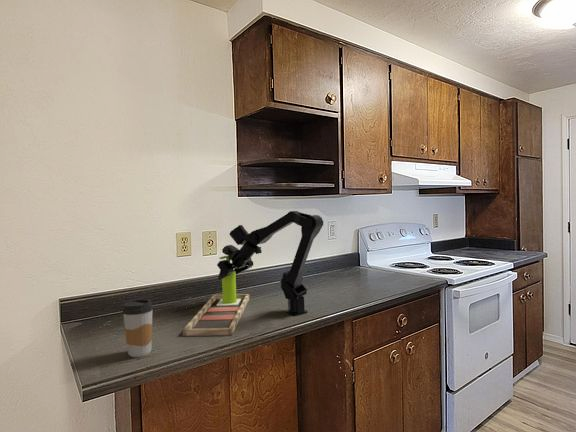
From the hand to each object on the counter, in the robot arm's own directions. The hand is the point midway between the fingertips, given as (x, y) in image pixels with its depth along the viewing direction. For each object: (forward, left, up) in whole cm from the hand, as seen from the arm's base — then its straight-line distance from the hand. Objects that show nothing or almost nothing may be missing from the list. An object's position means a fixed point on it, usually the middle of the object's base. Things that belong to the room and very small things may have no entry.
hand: (225, 277), depth 156 cm
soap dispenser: (-2, 0, -11) cm, 11 cm away
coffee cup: (-31, +43, -11) cm, 55 cm away
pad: (-1, -1, -11) cm, 11 cm away
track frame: (-13, +9, -11) cm, 19 cm away
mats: (-13, +9, -11) cm, 19 cm away
